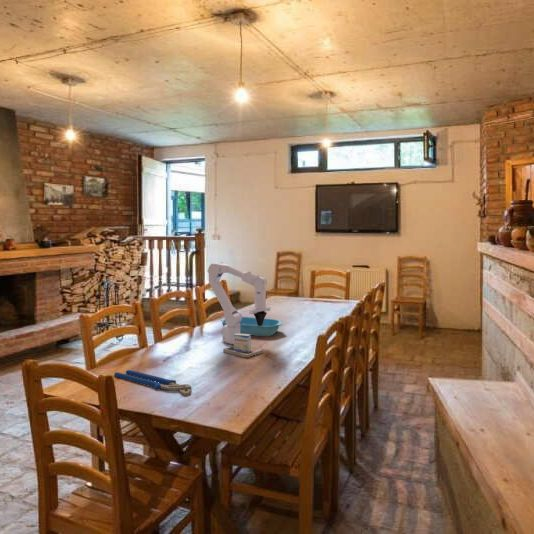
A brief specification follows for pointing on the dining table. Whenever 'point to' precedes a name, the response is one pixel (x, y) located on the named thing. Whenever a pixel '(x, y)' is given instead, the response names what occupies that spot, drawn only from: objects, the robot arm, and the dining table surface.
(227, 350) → the frame
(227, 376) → the dining table surface
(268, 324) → the casserole dish
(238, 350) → the medicine box
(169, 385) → the pliers
